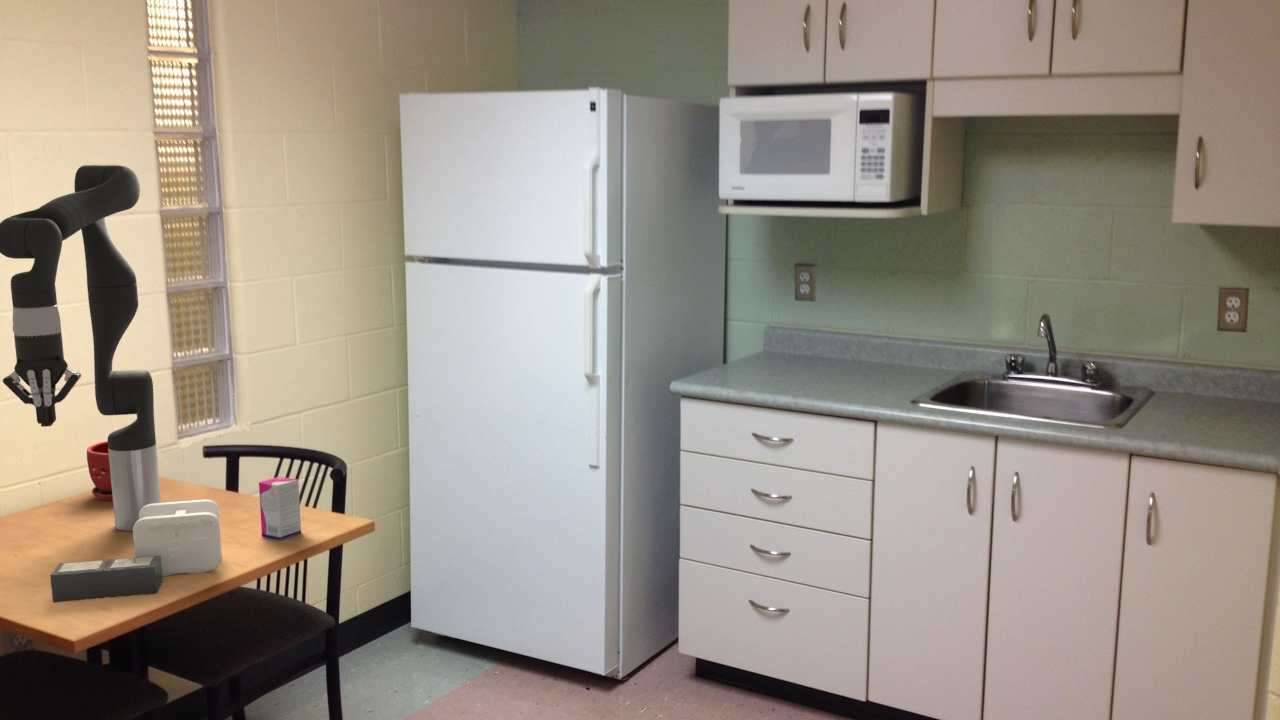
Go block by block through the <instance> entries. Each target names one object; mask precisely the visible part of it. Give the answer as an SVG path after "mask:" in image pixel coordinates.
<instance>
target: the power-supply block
mask: <svg viewBox="0 0 1280 720" xmlns="http://www.w3.org/2000/svg"><path fill="white" fill-rule="evenodd" d="M49 576H50V585H51V586H50V587H51V595H52V603H61V602H63V603H64V602H74V601H75V602H76V601H84V600H85V601H86V599H87V600H97V599H96V598H99V599H106V598H105V597H111V598H120V597H119V596H121V598H122V596H123V597H132V595H134V596H143V595H157V594H158V592H159V590H160V588H161V586H162V584H163V583H164V581H163V580H164V579H163V577H162V567H161V556H150V557H137V558H135V557H127V558H126V557H125V558H114V559H113V558H112V559H103V560H102V559H101V560H99V559H98V560H87V561H79V562H78V561H75V562H62V563H58V564H57V566H56V567H55V568H54V570H53V571H52V572H51V574H50V575H49ZM116 596H118V597H116Z"/></svg>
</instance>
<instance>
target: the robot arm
mask: <svg viewBox="0 0 1280 720" xmlns="http://www.w3.org/2000/svg"><path fill="white" fill-rule="evenodd" d="M139 180H140V179H139V177H138V175H137V173H136V171H134V170H133V168H131V167H129V166H127V165H124V164H122V165H121V164H84V165H82V166H79V168H77V170H76V172H75V176H74V184H73V185H74V187H73V188H74V192H72V193H67V194H64V195H61V196H58V197H56V198H54V199H51V200H50V201H48V202H47V203H45V204H43V205H41V206H40V207H38V208H36V209H33V210H28V211H25V212H22V213H17V214H14V215H10V216H9V217H7V218H5V219H3V220H2V221H1V222H0V254H1V255H2V256H5V257H6V258H9V259H14V260H16V259H18V260H19V259H26V260H27V259H31V260H32V259H34V260H33V265H32V267H31V269H29V271H28V270H27V271H24V272H19V273H16V274H14V275H12V277H11V279H10V291H11V300H12V332H13V338H14V348H15V355H16V356H15V357H16V362H15V363H16V364H15V366H14V368H13V369H14V370H13V371H12V372H11V373H10V374H9V375H6V376H5V377H4V378H3V379H2V383H3V384H4V385H5V386H6V387H7V388H8V389H9V390H10V391H11V392H12V393H13V394H14V395H15V396H16V397H18V398H19V400H20V401H21V402H22V403H23V404H24V405H28V404H29V405H32V406H34V407H35V414H36V415H35V416H36V422H37V423H38V424H40V427H43V428H44V427H46V428H47V427H51V426H53V424H54V422H56V419H57V416H56V404H57V403H61V402H62V401H64V399H65V398H66V397H67V396H68V395H69V394H70V392H71V390H72V389H73V388H74V386H75V385H76V384H77V383H78V381H79V380H80V379H81V377H82V374H81V373H80V372H79V371H76V372H75V371H74V370H72V369H71V368H69V365H68V362H66V360H65V357H64V356H65V355H64V354H65V353H64V346H63V334H62V324H61V317H60V312H59V308H58V307H59V306H58V299H57V290H56V280H57V271H58V267H59V262H60V257H61V252H62V249H63V248H62V247H63V241H65V240H67V239H69V238H70V237H72V236H73V235H75V234H76V233H77V232H79V231H81V235H82V241H83V250H84V257H85V260H84V261H85V270H86V287H87V289H86V290H87V296H88V297H87V298H88V306H89V307H88V308H89V315H90V322H91V332H92V341H93V361H94V362H93V363H94V365H93V368H94V369H93V371H94V393H95V402H96V406H97V410H98V412H99V413H100V414H101V415H102V416H123V415H125V416H127V415H136V419H135V420H134V421H133V422H132V423H130V424H128V425H127V426H124V427H121V428H119V429H117V430H114V431H112V432H110V433H109V435H108V436H107V441H108V451H109V462H110V473H111V484H112V495H113V501H112V505H113V516H114V517H113V518H114V527H115V529H117V530H119V531H128V532H131V531H132V532H133V526H134V524H135V523H136V521H137V520H139V512H140V510H141V509H142V508H143V507H144V506H146V505H148V504H153V503H162V500H161V499H162V497H161V496H162V495H161V485H160V474H159V462H158V450H157V438H156V426H155V412H154V411H155V410H154V405H155V403H154V397H155V396H154V384H153V383H154V382H153V378H152V375H151V373H150V372H149V371H148V370H146V369H127V370H123V369H122V370H113V360H114V356H115V353H116V350H117V348H118V346H119V344H120V342H121V339H122V338H123V336H124V334H125V333H126V331H127V330H128V328H129V326H130V325H131V323H132V321H133V320H134V318H135V315H136V314H137V311H138V309H139V296H138V294H139V293H138V285H137V283H138V282H137V277H136V276H137V275H136V274H135V271H134V269H133V267H132V265H131V263H129V261H128V260H127V258H126V257H125V255H124V254H123V253H122V252H121V250H120V249H119V248H118V247H117V245H116V244H115V242H114V240H113V239H112V237H111V234H110V232H109V230H108V227H107V222H106V219H105V218H107V217H110V216H111V215H115V214H117V213H121V212H124V211H127V210H130V209H132V208H134V206H135V205H136V204H137V203H138V201H139V199H140V194H141V185H140V181H139ZM64 375H65V376H64ZM63 376H64V379H63V380H64V381H65V383H64V385H63V386H62V388H61V389H60V390H59V392H58V393H57V394H56V389H57V387H56V385H57V384H58V383H59V382H60V381H61V379H62V378H63ZM21 380H22V381H23V382H24V383H25V384H26V385H27V386H28V387H29V388H30V391H29V390H28V388H26V387H25V386H24V385H23V384H21Z"/></svg>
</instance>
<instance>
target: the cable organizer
mask: <svg viewBox="0 0 1280 720" xmlns="http://www.w3.org/2000/svg"><path fill="white" fill-rule="evenodd" d="M219 509H220V508H219V505H218V503H217V502H216V501H214V500H212V499H206V498H205V499H195V500H183V501H170V502H169V501H167V502H166V501H165V502H161V503H153V504H148V505H146V506H144V507H143V508H142V509H141V510H140V512H139V520H137V521H136V523H135V524H134V526H133V531H132V536H133V538H132V539H133V550H134V558H137V557H150V556H161V567H162V578H163V577H169V576H171V575H174V574H175V575H176V574H186V573H187V575H194V573H196V574H205V573H207V571H213V570H215V569H217V568H219V566H220V565H221V564H222V560H223V552H222V539H221V538H222V537H221V525H220V524H221V523H220V514H219V513H220V511H219Z"/></svg>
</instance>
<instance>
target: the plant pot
mask: <svg viewBox="0 0 1280 720" xmlns="http://www.w3.org/2000/svg"><path fill="white" fill-rule="evenodd" d="M86 460H87V462H86V463H87V468H88V473H89V477H90V479H91V481H92V484H93V485H94V487H93V488H92V489H91V493H92V495H93V496H94V497H95V498H96V499H99V500H101V501H108V502H109V501H110V502H111V501H112V502H113V495H112V484H111V473H110V462H109V451H108V440H106V441H101V442H97V443H93V444H92V445H89V447H87V449H86Z"/></svg>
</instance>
